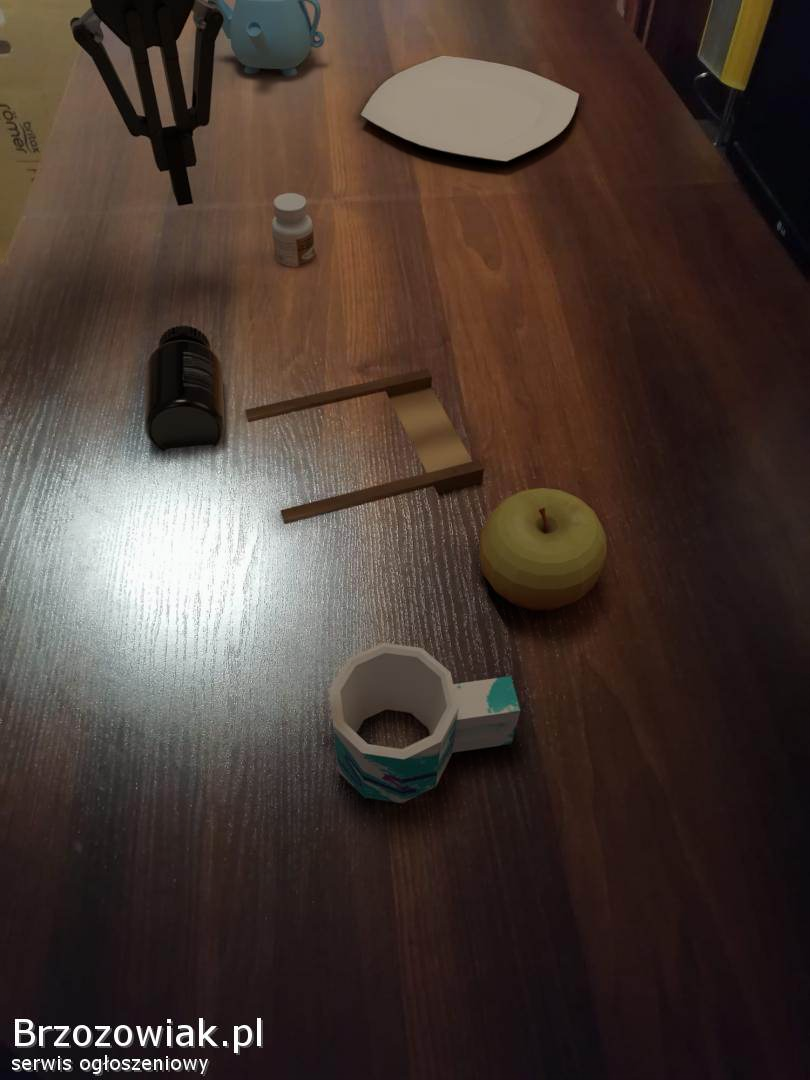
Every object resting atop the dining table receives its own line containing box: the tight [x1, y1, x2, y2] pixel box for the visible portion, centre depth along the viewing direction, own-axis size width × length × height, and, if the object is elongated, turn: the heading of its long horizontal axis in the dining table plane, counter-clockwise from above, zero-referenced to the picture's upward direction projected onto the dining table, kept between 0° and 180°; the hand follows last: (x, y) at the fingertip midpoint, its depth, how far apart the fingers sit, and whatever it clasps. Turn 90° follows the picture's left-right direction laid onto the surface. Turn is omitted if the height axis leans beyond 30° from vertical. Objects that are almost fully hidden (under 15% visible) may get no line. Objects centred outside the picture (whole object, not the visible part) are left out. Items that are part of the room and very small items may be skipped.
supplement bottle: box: [144, 325, 225, 452], centre depth 79 cm, size 7×7×12 cm
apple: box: [478, 487, 608, 611], centre depth 67 cm, size 10×10×8 cm
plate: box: [360, 55, 580, 163], centre depth 118 cm, size 27×27×2 cm
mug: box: [328, 642, 521, 804], centre depth 57 cm, size 8×12×8 cm
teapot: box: [207, 0, 325, 77], centre depth 124 cm, size 15×14×11 cm
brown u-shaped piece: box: [244, 368, 485, 524], centre depth 78 cm, size 14×18×2 cm
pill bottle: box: [271, 192, 316, 268], centre depth 93 cm, size 4×4×8 cm
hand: (183, 197), depth 86 cm, fingers closed
